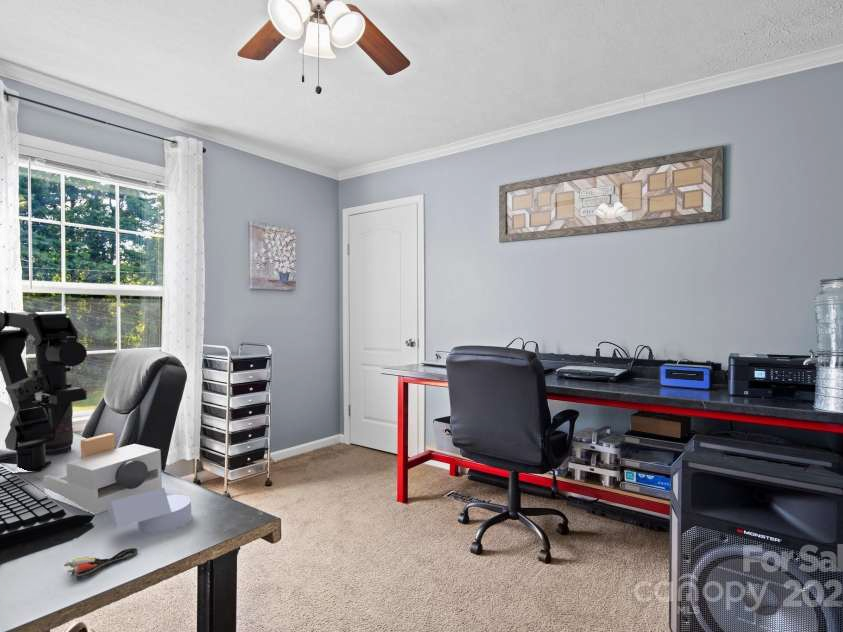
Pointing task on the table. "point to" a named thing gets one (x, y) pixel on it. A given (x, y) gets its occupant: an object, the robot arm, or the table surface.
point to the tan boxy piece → (97, 445)
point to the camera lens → (62, 436)
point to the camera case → (109, 477)
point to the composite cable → (97, 563)
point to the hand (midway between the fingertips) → (54, 428)
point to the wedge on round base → (151, 511)
